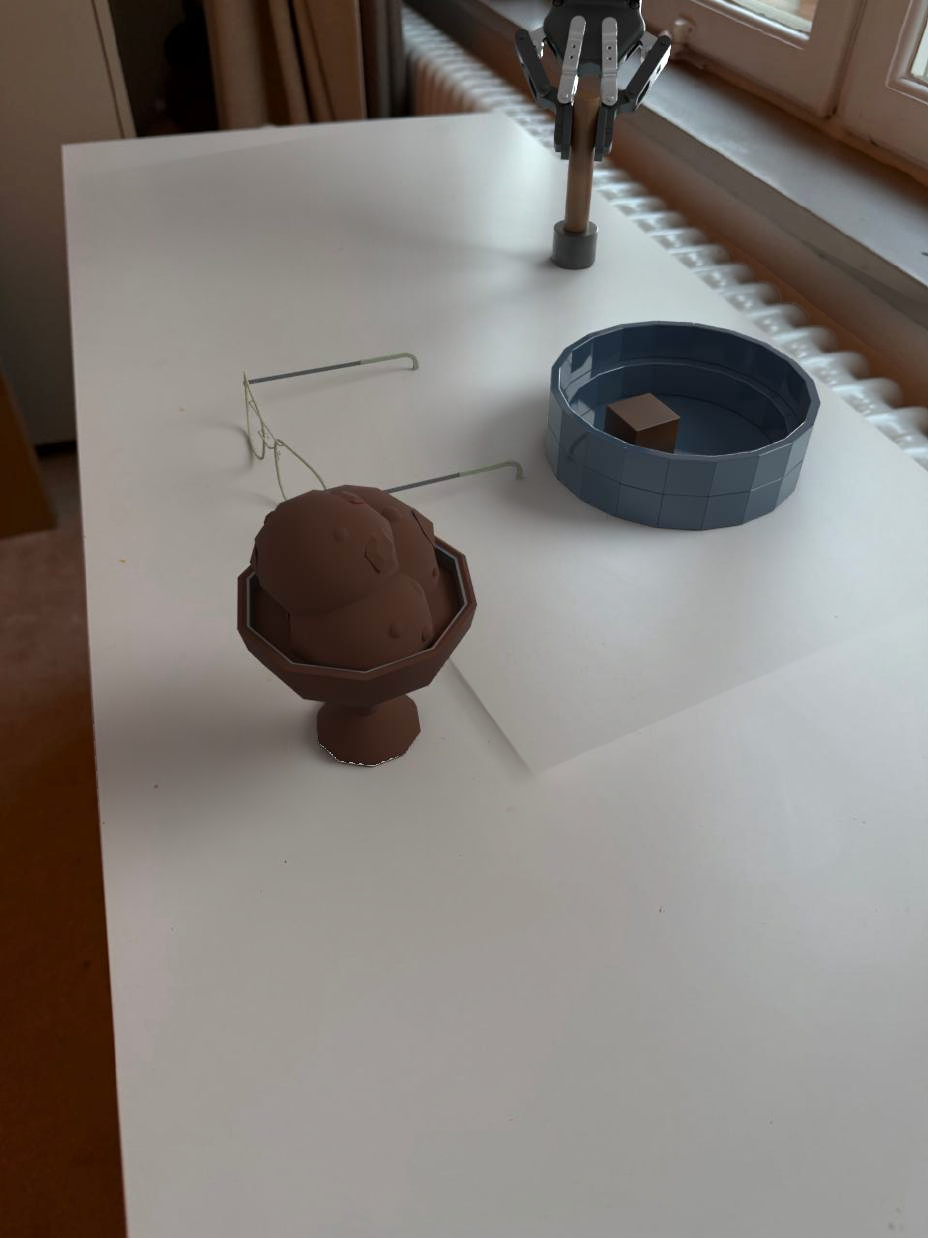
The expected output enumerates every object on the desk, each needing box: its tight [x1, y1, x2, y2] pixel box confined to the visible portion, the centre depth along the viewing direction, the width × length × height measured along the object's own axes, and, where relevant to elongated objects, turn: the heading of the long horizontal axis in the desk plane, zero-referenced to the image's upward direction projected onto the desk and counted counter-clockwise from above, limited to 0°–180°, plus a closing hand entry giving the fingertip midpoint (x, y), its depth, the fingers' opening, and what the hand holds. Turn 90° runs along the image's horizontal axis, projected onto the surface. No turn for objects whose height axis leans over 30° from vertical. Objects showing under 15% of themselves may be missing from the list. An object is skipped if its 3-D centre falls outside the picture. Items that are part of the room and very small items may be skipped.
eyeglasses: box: [242, 351, 524, 501], centre depth 68 cm, size 16×15×5 cm
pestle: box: [551, 90, 601, 270], centre depth 87 cm, size 4×4×14 cm
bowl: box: [544, 320, 822, 531], centre depth 67 cm, size 17×17×6 cm
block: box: [604, 393, 680, 454], centre depth 67 cm, size 4×4×4 cm
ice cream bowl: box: [236, 484, 478, 765], centre depth 47 cm, size 11×11×15 cm
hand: (581, 155), depth 84 cm, fingers closed on pestle, 2 cm apart
